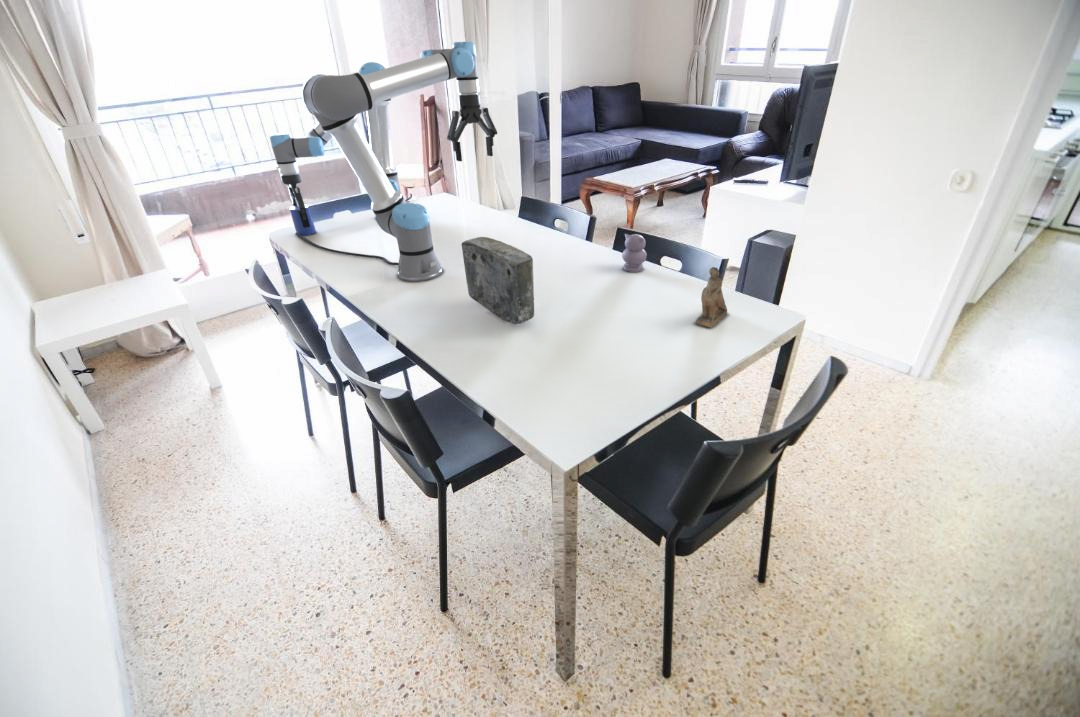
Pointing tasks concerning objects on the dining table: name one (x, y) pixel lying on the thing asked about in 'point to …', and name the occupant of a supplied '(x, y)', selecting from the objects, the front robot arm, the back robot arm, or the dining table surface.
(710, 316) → the brown carved statuette
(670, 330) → the dining table surface
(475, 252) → the concrete block
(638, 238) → the cat figurine
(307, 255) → the dining table surface
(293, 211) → the canister
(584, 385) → the dining table surface
